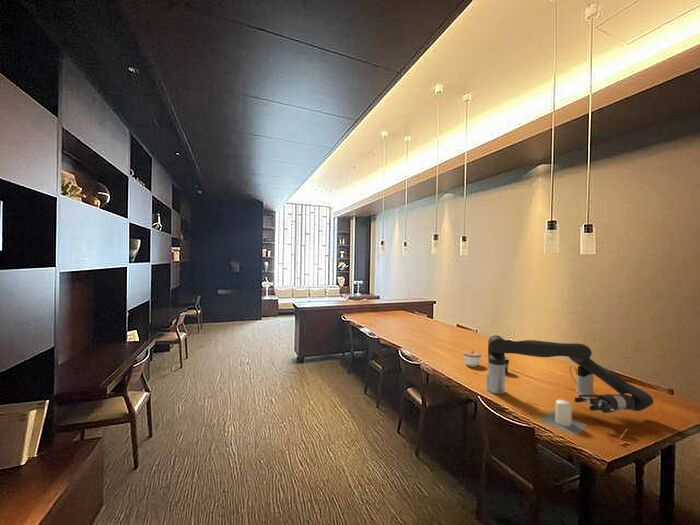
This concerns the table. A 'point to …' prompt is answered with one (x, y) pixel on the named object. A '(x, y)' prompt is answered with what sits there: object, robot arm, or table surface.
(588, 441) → the table surface
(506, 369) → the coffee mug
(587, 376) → the glass holder
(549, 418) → the slate mat
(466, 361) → the lidded bowl
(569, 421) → the cup
